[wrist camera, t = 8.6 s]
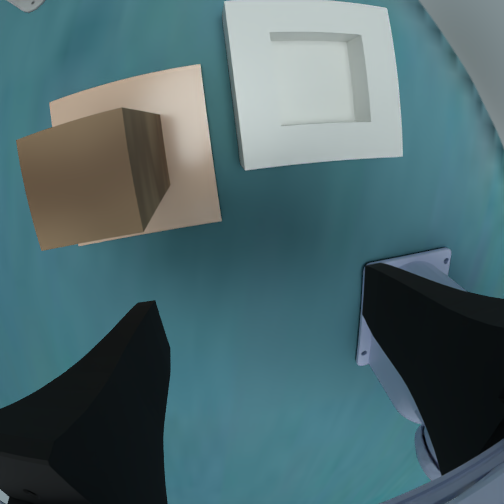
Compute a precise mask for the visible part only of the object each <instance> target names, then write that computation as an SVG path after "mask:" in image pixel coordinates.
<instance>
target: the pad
mask: <svg viewBox="0 0 504 504" xmlns="http://www.w3.org/2000/svg"><path fill="white" fill-rule="evenodd" d="M49 104H50V112H51V120H52V127H54V126H57V125H60V124H64V123H67V122H70V121H73V120H77V119H80V118H83V117H87V116H90V115H94V114H98V113H101V112H105V111H109V110H113V109H117V108H121V107H123V108H128V109H134V110H140V111H145V112H150V113H155V114H160V118H161V125H162V133H163V140H164V147H165V154H166V160H167V167H168V173H169V179H170V187H169V188H168V190H167V192H166V194H165V195H164V197H163V199H162V200H161V202H160V204H159V206H158V207H157V209H156V211H155V213H154V214H153V216H152V218H151V220H150V221H149V223H148V225H147V227H146V229H145V230H144V232H142V233H136V234H130V235H124V236H119V237H113V238H107V239H102V240H96V241H91V242H85V243H80V244H78V245H79V246H82V245H87V244H93V243H98V242H103V241H109V240H114V239H119V238H125V237H130V236H136V235H142V234H147V233H153V232H159V231H165V230H170V229H176V228H182V227H188V226H195V225H201V224H207V223H213V222H220V221H222V219H221V212H220V206H219V199H218V192H217V185H216V178H215V171H214V164H213V157H212V150H211V143H210V135H209V128H208V120H207V113H206V105H205V97H204V89H203V81H202V73H201V65H200V64H198V65H191V66H185V67H179V68H174V69H168V70H163V71H158V72H153V73H148V74H144V75H140V76H135V77H131V78H127V79H123V80H119V81H115V82H112V83H108V84H104V85H101V86H97V87H94V88H91V89H87V90H84V91H81V92H78V93H75V94H72V95H69V96H66V97H63V98H60V99H58V100H55V101H52V102H49Z"/></svg>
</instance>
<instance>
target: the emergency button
mask: <svg viewBox="0 0 504 504" xmlns="http://www.w3.org/2000/svg"><path fill="white" fill-rule="evenodd" d="M7 1H9V2H10V3H12V4H13V5H15V6H16V7H18V8H19V9H21V10H22V11H24V12H28V13H30V12H32V11H34V10H36V9H38V8H39V7H40V6H41V5H42V4H43V3H44V2H45V0H7Z"/></svg>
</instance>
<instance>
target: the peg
mask: <svg viewBox="0 0 504 504" xmlns="http://www.w3.org/2000/svg"><path fill="white" fill-rule="evenodd" d="M16 142H17V149H18V155H19V161H20V166H21V172H22V177H23V182H24V186H25V191H26V195H27V199H28V204H29V208H30V212H31V216H32V219H33V223H34V227H35V230H36V234H37V237H38V241H39V244H40V247H41V250H42V251H43V250H48V249H53V248H59V247H64V246H69V245H74V244H80V243H85V242H91V241H96V240H102V239H107V238H113V237H119V236H124V235H130V234H136V233H142V232H144V230H145V229H146V227H147V225H148V223H149V221H150V220H151V218H152V216H153V214H154V213H155V211H156V209H157V207H158V206H159V204H160V202H161V200H162V199H163V197H164V195H165V194H166V192H167V190H168V188H169V187H170V179H169V173H168V167H167V160H166V154H165V147H164V140H163V133H162V125H161V118H160V114H155V113H150V112H145V111H140V110H134V109H128V108H123V107H121V108H117V109H113V110H109V111H105V112H101V113H98V114H94V115H90V116H87V117H83V118H80V119H77V120H73V121H70V122H67V123H64V124H60V125H57V126H54V127H51V128H48V129H45V130H43V131H40V132H37V133H34V134H31V135H29V136H26V137H23V138H21V139H18V140H16Z"/></svg>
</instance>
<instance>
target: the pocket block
mask: <svg viewBox="0 0 504 504" xmlns="http://www.w3.org/2000/svg"><path fill="white" fill-rule="evenodd" d="M222 21H223V29H224V37H225V45H226V53H227V61H228V69H229V77H230V85H231V93H232V101H233V109H234V117H235V125H236V133H237V141H238V149H239V157H240V165H241V166H242V167H243V168H244V170H253V169H261V168H269V167H277V166H286V165H295V164H305V163H315V162H326V161H338V160H351V159H366V158H384V157H403V146H402V124H401V108H400V96H399V86H398V76H397V68H396V60H395V53H394V46H393V39H392V33H391V27H390V22H389V17H388V11H387V8H384V7H378V6H371V5H364V4H357V3H348V2H339V1H327V0H234V1H224V6H223V13H222Z"/></svg>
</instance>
